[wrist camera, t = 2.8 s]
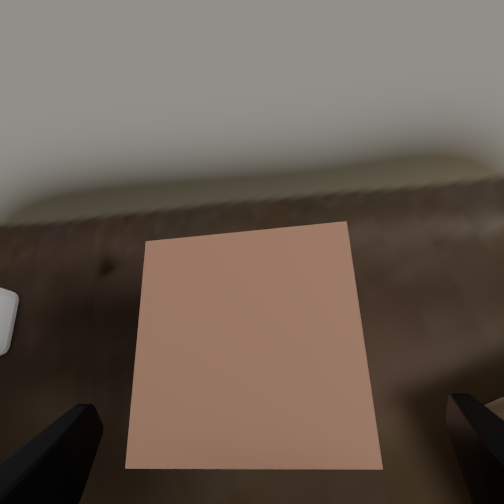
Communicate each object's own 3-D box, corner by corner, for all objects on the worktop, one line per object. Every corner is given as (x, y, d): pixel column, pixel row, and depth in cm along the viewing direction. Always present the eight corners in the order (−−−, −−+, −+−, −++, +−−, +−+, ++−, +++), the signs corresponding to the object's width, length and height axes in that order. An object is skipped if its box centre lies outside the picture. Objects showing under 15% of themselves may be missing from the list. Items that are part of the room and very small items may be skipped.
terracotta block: (341, 417, 16) (382, 469, 6) (237, 419, 17) (125, 468, 7) (328, 313, 18) (346, 221, 8) (236, 318, 19) (145, 241, 9)
